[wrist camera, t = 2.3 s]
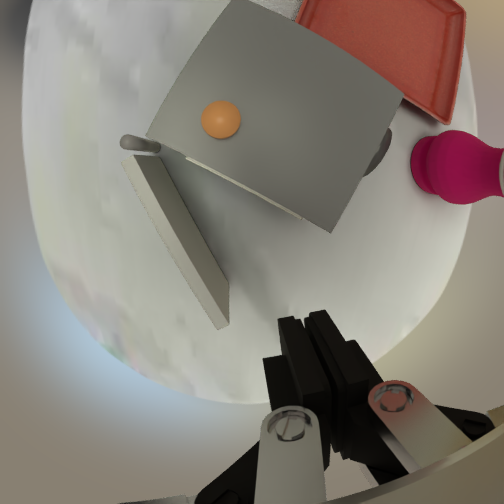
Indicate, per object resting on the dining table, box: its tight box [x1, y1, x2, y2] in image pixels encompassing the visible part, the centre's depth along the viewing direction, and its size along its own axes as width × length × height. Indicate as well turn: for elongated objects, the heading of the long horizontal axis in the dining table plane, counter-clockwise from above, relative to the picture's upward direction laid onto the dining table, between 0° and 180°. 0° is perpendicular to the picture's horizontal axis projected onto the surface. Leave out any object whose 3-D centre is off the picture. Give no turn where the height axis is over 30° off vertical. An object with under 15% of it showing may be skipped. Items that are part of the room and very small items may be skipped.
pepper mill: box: [411, 130, 504, 204], centre depth 18 cm, size 7×7×20 cm
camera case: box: [145, 0, 404, 233], centre depth 22 cm, size 12×15×9 cm
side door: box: [120, 135, 229, 330], centre depth 24 cm, size 2×15×8 cm, turn 27°
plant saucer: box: [294, 0, 466, 125], centre depth 22 cm, size 18×18×3 cm
